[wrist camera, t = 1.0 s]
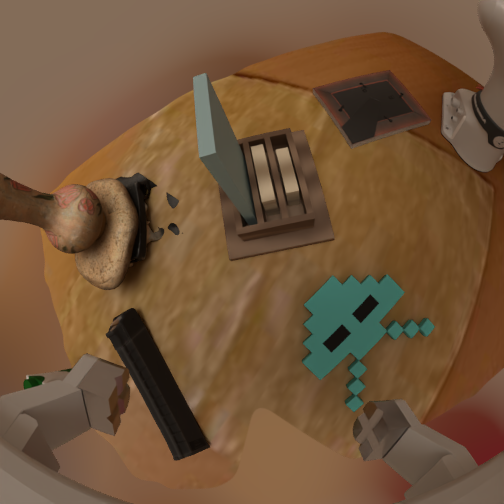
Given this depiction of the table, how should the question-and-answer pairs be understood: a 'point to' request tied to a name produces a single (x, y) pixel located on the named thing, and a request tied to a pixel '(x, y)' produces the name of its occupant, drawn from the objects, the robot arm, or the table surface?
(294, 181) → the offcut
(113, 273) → the vase
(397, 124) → the picture frame
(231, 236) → the rack
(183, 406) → the magazine
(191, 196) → the table surface
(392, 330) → the alien figure
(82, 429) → the robot arm
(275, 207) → the block
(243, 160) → the sheet
